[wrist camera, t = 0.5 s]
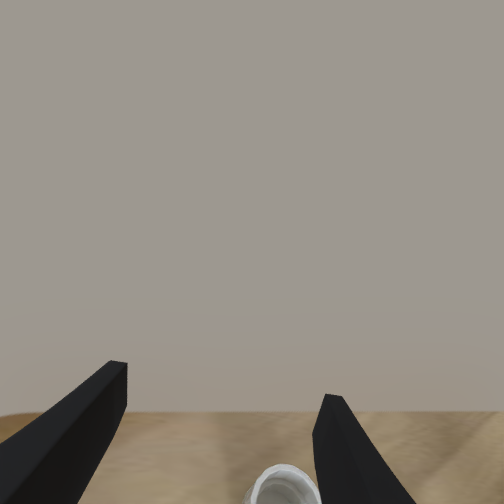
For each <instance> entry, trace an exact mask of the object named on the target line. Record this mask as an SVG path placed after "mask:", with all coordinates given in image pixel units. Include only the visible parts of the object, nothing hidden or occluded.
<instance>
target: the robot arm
mask: <svg viewBox="0 0 504 504" xmlns="http://www.w3.org/2000/svg"><path fill="white" fill-rule="evenodd" d="M126 407H127V363H124V362H118V361H112V360H111V361H109V362H107V363H106V364H105V365H104V366H102V367H101V368H100V369H99V370H98V371H96V372H95V373H94V374H93V375H92V376H90V377H89V378H88V379H87V380H86V381H84V382H83V383H82V384H81V385H79V386H78V387H77V388H76V389H75V390H74V391H72V392H71V393H69V394H68V395H67V396H66V397H64V398H63V399H62V400H61V401H59V402H58V403H57V404H55V405H54V406H53V407H51V408H50V409H49V410H47V411H46V412H45V413H43V414H42V415H41V416H39V417H38V418H36V419H35V420H34V421H32V422H31V423H29V424H28V425H27V426H25V427H24V428H23V429H21V430H20V431H18V432H17V433H15V434H14V435H12V436H11V437H10V438H8V439H7V440H5V441H4V442H2V443H1V444H0V504H77V503H78V502H79V500H80V498H81V496H82V494H83V492H84V491H85V489H86V487H87V485H88V483H89V481H90V480H91V478H92V476H93V474H94V472H95V470H96V469H97V467H98V465H99V463H100V461H101V460H102V458H103V456H104V454H105V452H106V450H107V448H108V447H109V445H110V443H111V441H112V439H113V437H114V435H115V433H116V431H117V428H118V426H119V424H120V421H121V419H122V416H123V414H124V412H125V409H126ZM312 438H313V452H314V463H315V470H316V476H317V481H318V487H319V493H320V498H321V503H322V504H416V503H415V501H414V500H413V499H412V498H411V496H410V495H409V494H408V492H407V491H406V490H405V488H404V487H403V486H402V484H401V483H400V482H399V480H398V479H397V478H396V476H395V475H394V474H393V472H392V471H391V469H390V468H389V467H388V465H387V464H386V462H385V461H384V460H383V458H382V457H381V455H380V454H379V452H378V451H377V449H376V448H375V446H374V445H373V443H372V442H371V440H370V439H369V437H368V436H367V434H366V433H365V431H364V430H363V428H362V427H361V425H360V424H359V422H358V421H357V419H356V417H355V416H354V414H353V413H352V411H351V409H350V408H349V406H348V405H347V403H346V402H345V400H344V399H343V397H342V396H337V395H331V394H325V396H324V399H323V402H322V406H321V409H320V411H319V414H318V417H317V420H316V424H315V427H314V430H313V433H312Z"/></svg>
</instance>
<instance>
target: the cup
mask: <svg viewBox="0 0 504 504" xmlns="http://www.w3.org/2000/svg"><path fill="white" fill-rule="evenodd" d="M242 504H322V503H321V498H320V493H319V491H318V489H317V487H316V485H315V484H314V483H313V481H312V480H311V479H310V478H309V477H308V475H307V474H306V473H305V472H303V471H302V470H300V469H298V468H296V467H295V466H293V465H287V464H277V465H274V466H272V467H269V468H267V469H266V470H265V471H264V472H263V473H262V474H261V476H260V477H259V478H258V479H257V480H256V482H255V483H254V484H253V485H252V487H251V488H250V489H249V491H248V492H247V493H246V494H245V497H244V499H243V502H242Z"/></svg>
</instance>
